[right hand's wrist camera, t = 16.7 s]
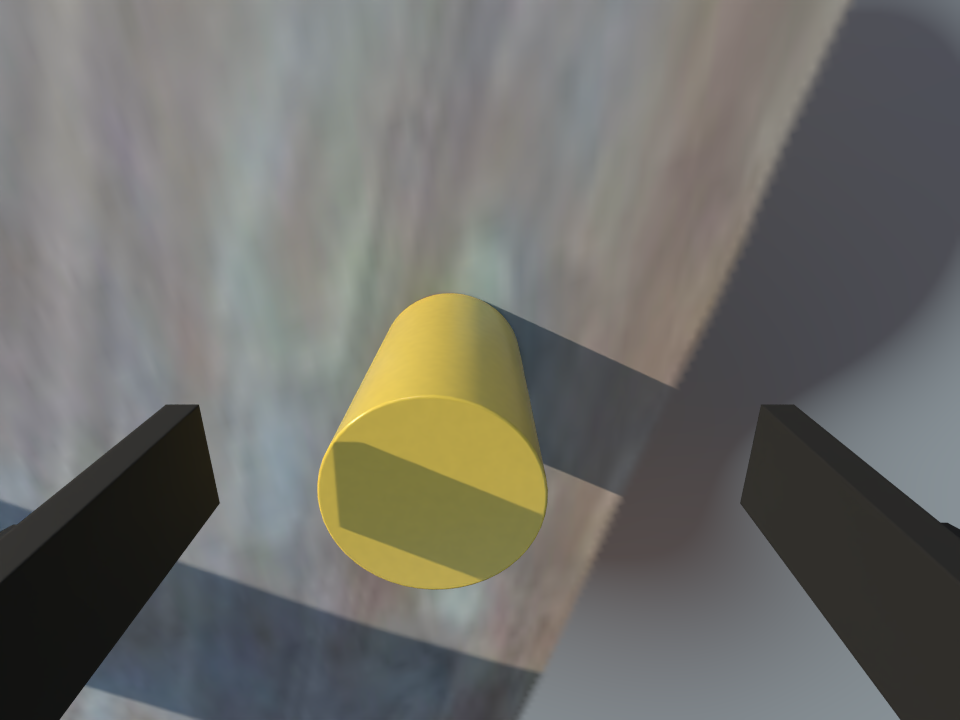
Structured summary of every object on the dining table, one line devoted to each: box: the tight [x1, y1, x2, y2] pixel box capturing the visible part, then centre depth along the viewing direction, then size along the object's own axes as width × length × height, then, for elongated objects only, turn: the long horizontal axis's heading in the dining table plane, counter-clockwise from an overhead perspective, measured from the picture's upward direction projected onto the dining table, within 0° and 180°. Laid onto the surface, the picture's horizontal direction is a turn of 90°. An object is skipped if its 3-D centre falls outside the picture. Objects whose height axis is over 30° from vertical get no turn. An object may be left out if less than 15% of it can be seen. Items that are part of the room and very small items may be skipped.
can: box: [318, 293, 548, 590], centre depth 19 cm, size 6×6×11 cm
